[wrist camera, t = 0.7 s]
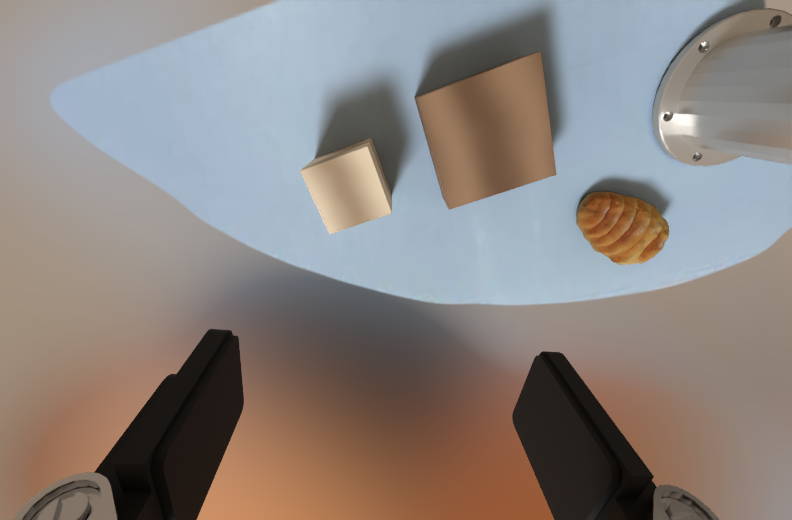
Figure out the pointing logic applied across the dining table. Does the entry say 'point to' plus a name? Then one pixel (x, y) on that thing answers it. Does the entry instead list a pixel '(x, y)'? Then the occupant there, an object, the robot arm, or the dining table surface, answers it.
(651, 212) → the pastry
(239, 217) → the dining table surface
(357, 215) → the maple cube
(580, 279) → the dining table surface
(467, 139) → the walnut base
